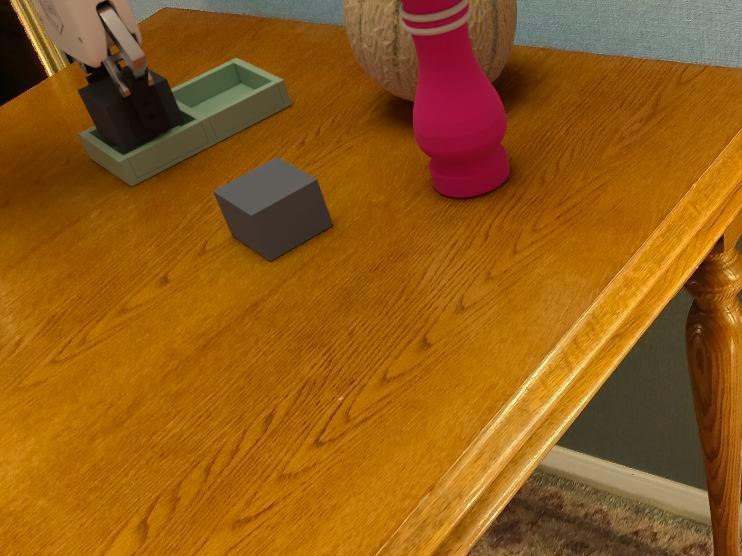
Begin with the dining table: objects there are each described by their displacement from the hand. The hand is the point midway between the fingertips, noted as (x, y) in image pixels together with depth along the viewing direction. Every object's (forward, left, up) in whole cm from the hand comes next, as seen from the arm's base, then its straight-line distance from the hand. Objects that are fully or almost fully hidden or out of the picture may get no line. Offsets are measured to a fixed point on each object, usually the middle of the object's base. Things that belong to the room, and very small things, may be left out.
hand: (138, 121), depth 90 cm
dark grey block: (0, 0, -1) cm, 1 cm away
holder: (+4, 0, -3) cm, 5 cm away
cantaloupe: (+22, -17, -3) cm, 28 cm away
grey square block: (0, -23, -3) cm, 23 cm away
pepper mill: (+14, -30, -3) cm, 33 cm away
